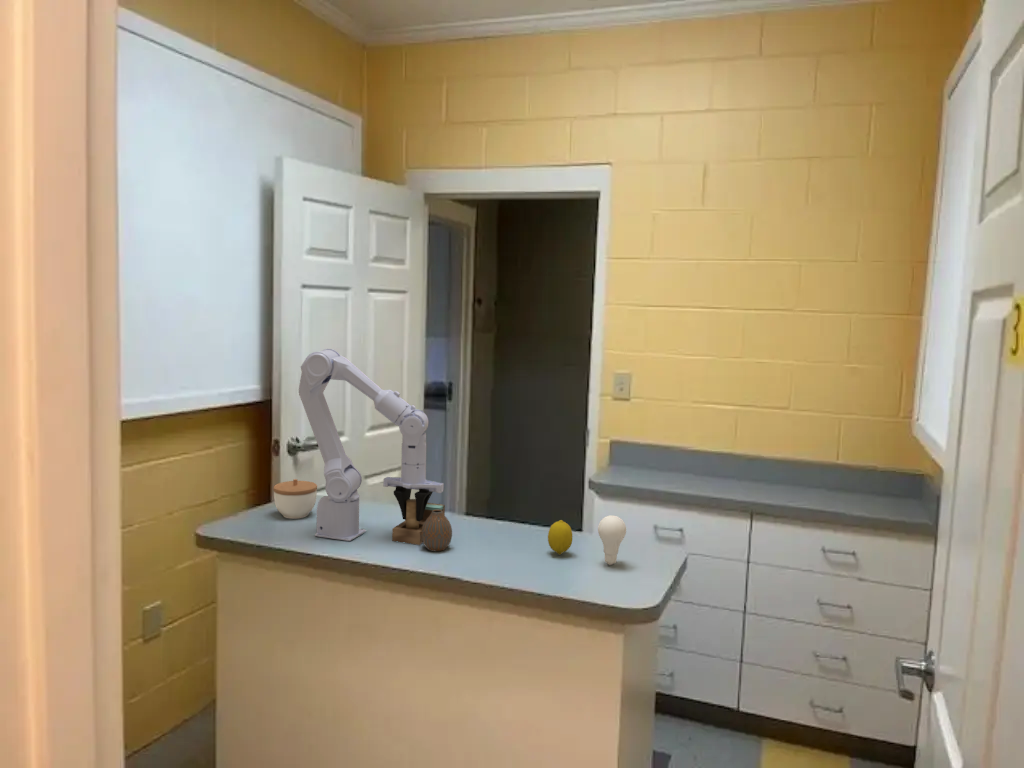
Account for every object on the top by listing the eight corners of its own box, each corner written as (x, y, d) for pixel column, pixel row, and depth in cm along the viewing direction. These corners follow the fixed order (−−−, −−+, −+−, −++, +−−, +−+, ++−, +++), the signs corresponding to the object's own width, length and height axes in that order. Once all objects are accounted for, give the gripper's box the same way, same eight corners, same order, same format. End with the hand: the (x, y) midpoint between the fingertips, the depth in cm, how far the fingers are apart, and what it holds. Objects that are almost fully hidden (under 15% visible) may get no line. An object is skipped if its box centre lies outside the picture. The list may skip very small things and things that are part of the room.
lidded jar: (325, 512, 201) (325, 477, 200) (300, 523, 191) (300, 486, 190) (291, 507, 204) (291, 472, 203) (264, 517, 195) (264, 481, 193)
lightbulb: (617, 571, 165) (619, 521, 164) (591, 565, 168) (593, 516, 167) (628, 563, 170) (631, 515, 169) (603, 557, 174) (606, 510, 172)
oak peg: (403, 534, 181) (404, 501, 180) (409, 531, 184) (409, 498, 183) (415, 536, 180) (415, 503, 179) (420, 532, 183) (421, 499, 182)
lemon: (574, 552, 177) (575, 518, 176) (568, 560, 171) (569, 525, 170) (551, 549, 178) (552, 515, 177) (544, 556, 173) (545, 521, 172)
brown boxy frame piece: (386, 540, 181) (386, 511, 180) (406, 526, 191) (407, 500, 190) (425, 545, 178) (426, 517, 177) (444, 532, 188) (444, 504, 187)
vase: (446, 554, 172) (447, 516, 171) (417, 551, 174) (417, 513, 173) (455, 545, 179) (456, 508, 178) (426, 542, 180) (427, 505, 179)
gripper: (377, 462, 179) (376, 520, 180) (435, 469, 174) (434, 527, 176) (391, 456, 185) (390, 512, 187) (447, 462, 181) (446, 519, 183)
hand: (412, 519), depth 182 cm, fingers closed on oak peg, 3 cm apart
